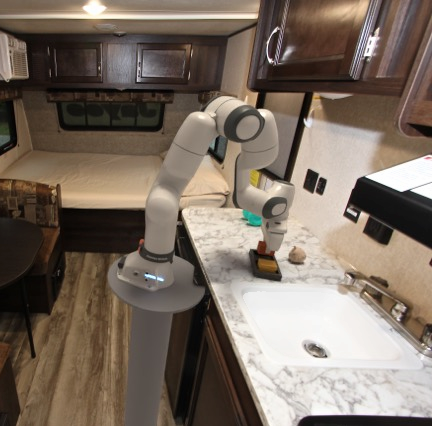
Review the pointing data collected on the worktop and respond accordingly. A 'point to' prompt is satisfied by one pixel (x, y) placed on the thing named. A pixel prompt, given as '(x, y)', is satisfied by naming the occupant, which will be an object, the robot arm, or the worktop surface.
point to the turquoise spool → (252, 218)
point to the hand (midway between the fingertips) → (266, 249)
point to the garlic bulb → (297, 254)
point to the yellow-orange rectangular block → (266, 266)
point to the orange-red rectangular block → (263, 248)
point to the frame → (260, 274)
